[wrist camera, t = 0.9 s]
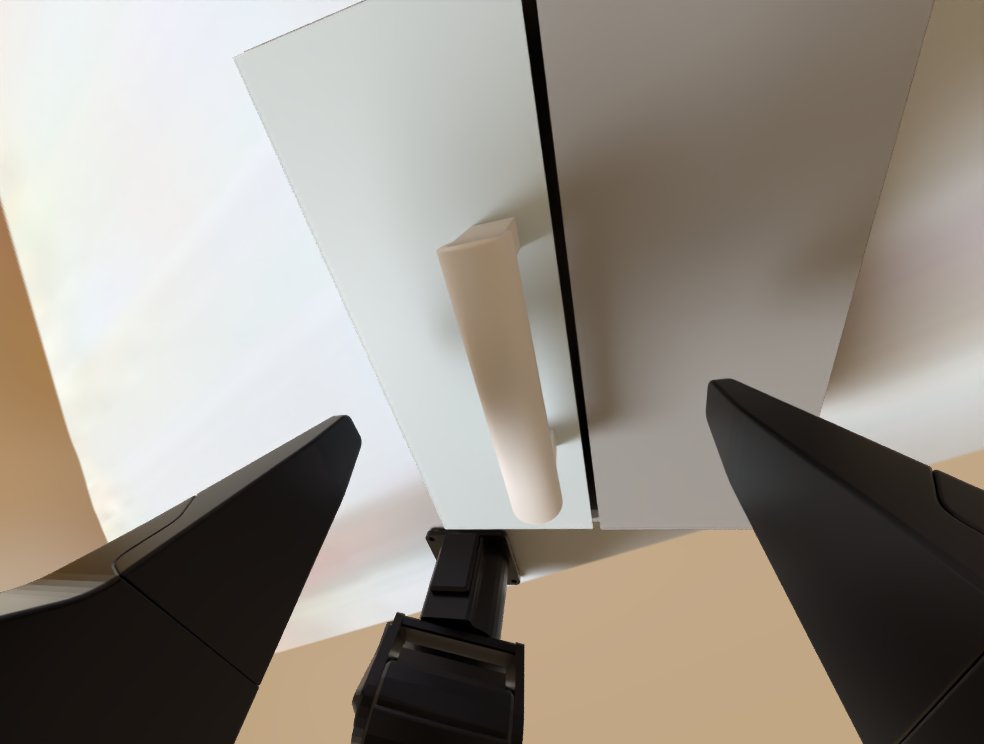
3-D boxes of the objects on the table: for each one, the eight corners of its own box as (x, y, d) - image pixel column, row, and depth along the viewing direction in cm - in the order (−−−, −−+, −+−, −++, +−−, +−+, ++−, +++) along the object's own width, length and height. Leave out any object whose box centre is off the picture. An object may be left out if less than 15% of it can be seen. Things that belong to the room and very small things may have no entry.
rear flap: (592, 520, 16) (601, 612, 12) (447, 521, 17) (423, 603, 14) (514, -52, 7) (480, -214, 4) (245, 61, 9) (72, 9, 6)
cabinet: (722, 422, 19) (788, 529, 14) (473, 439, 22) (446, 530, 17) (777, -61, 10) (1015, -295, 5) (358, 89, 14) (231, 47, 8)
